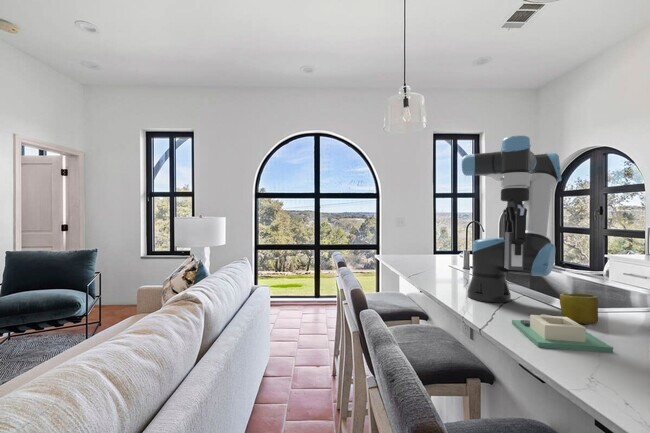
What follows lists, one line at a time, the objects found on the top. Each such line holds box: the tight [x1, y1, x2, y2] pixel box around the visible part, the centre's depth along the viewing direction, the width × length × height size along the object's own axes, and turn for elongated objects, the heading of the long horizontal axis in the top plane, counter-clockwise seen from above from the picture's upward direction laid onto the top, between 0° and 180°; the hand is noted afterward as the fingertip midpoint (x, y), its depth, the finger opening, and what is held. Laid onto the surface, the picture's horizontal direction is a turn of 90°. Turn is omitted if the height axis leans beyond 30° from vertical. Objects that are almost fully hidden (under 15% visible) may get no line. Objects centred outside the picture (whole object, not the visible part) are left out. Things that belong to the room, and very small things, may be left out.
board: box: [511, 313, 614, 354], centre depth 90 cm, size 18×16×5 cm
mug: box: [558, 292, 599, 325], centre depth 104 cm, size 12×10×10 cm
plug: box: [504, 232, 524, 270], centre depth 102 cm, size 4×4×11 cm
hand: (513, 265), depth 102 cm, fingers closed on plug, 4 cm apart
